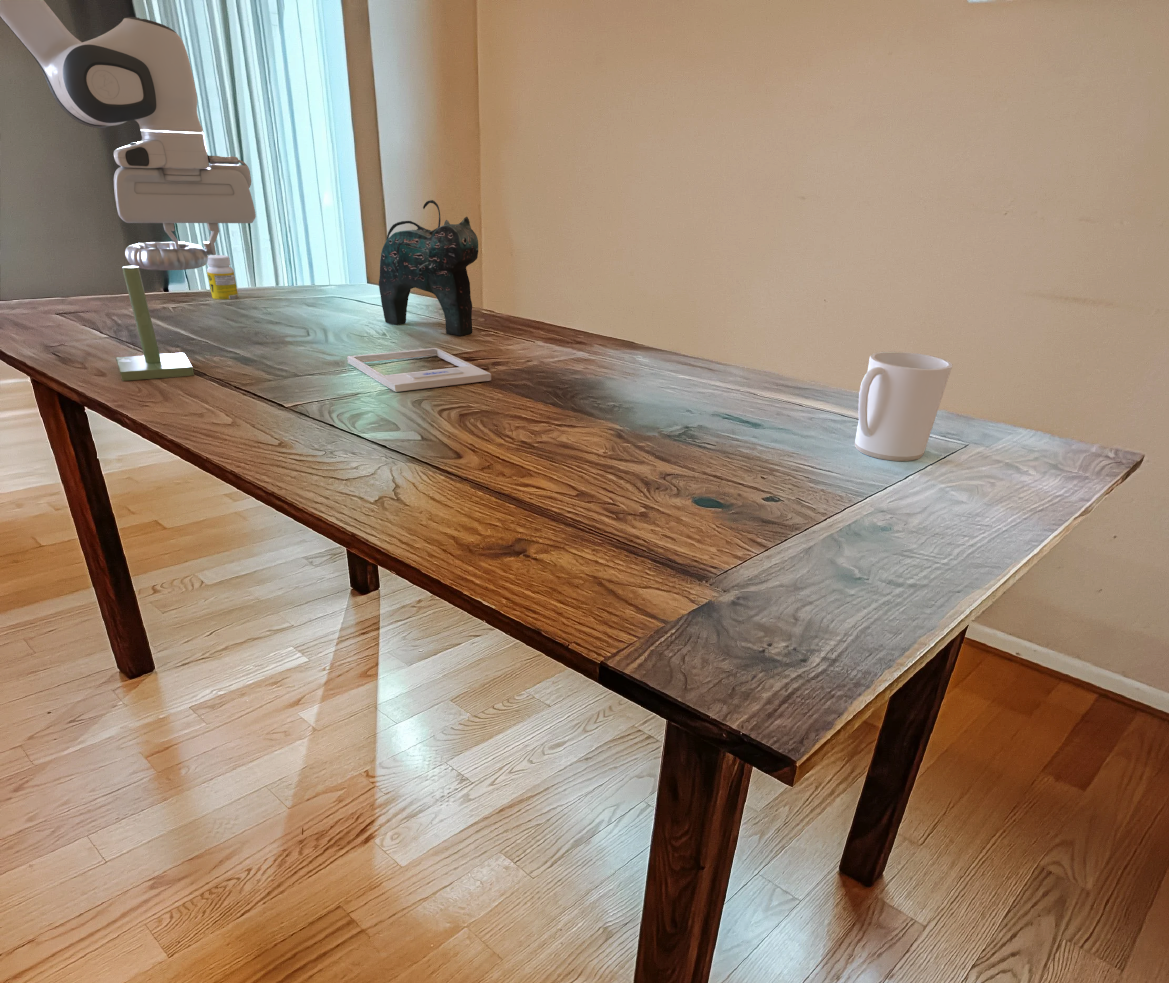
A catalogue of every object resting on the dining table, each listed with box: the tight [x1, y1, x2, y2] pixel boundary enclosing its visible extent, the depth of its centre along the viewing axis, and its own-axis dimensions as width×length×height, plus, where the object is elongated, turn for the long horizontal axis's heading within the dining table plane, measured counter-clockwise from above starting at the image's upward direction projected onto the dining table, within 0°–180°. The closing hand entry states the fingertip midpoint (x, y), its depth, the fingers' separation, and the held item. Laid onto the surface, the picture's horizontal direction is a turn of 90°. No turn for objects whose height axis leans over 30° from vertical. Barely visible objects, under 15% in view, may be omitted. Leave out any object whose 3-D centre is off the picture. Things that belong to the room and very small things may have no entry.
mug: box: [854, 350, 953, 462], centre depth 94 cm, size 11×9×10 cm
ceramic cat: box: [378, 199, 479, 337], centre depth 140 cm, size 20×6×20 cm, turn 59°
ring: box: [124, 241, 209, 271], centre depth 132 cm, size 12×12×3 cm
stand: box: [115, 265, 195, 382], centre depth 111 cm, size 9×9×13 cm
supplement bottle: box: [206, 254, 239, 300], centre depth 154 cm, size 5×5×8 cm
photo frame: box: [346, 347, 492, 393], centre depth 119 cm, size 15×1×18 cm
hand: (196, 254), depth 133 cm, fingers closed on ring, 3 cm apart
